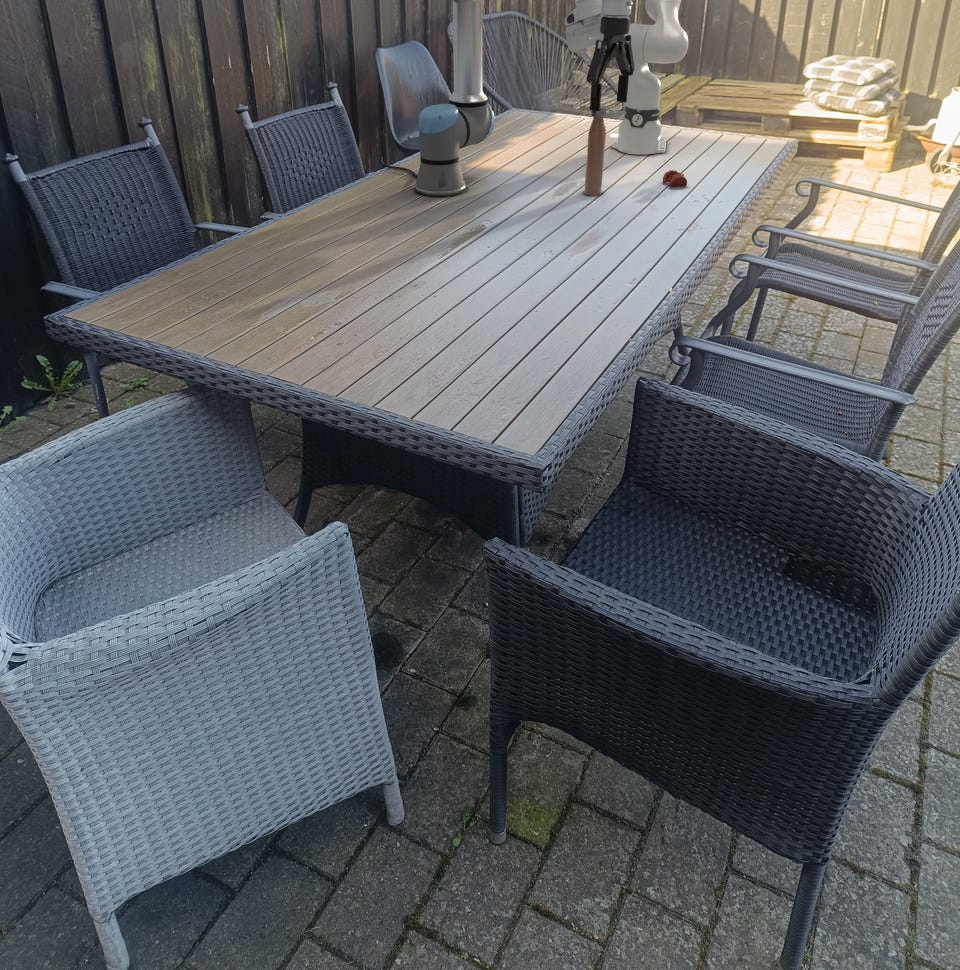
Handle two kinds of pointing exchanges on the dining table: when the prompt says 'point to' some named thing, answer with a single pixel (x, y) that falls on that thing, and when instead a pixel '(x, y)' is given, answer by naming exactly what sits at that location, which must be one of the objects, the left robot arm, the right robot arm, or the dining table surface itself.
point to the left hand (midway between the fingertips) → (608, 106)
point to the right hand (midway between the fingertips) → (601, 60)
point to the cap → (600, 112)
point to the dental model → (675, 179)
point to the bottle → (595, 157)
